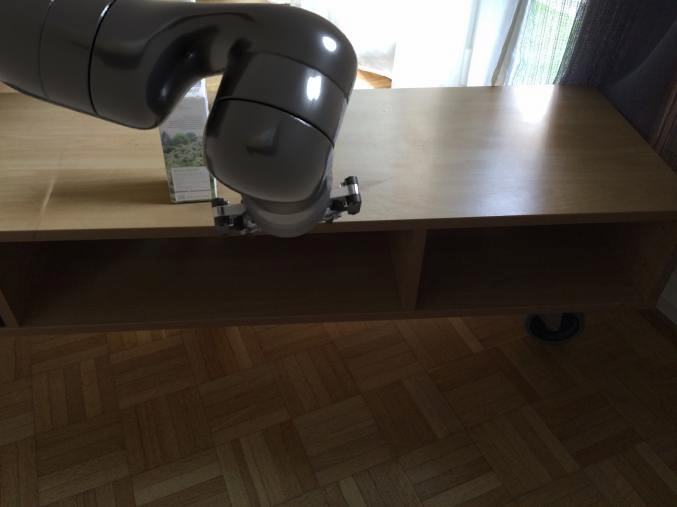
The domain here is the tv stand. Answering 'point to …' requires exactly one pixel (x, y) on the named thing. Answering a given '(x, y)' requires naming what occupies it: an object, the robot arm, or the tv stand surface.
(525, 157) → the tv stand surface
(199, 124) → the syrup box
